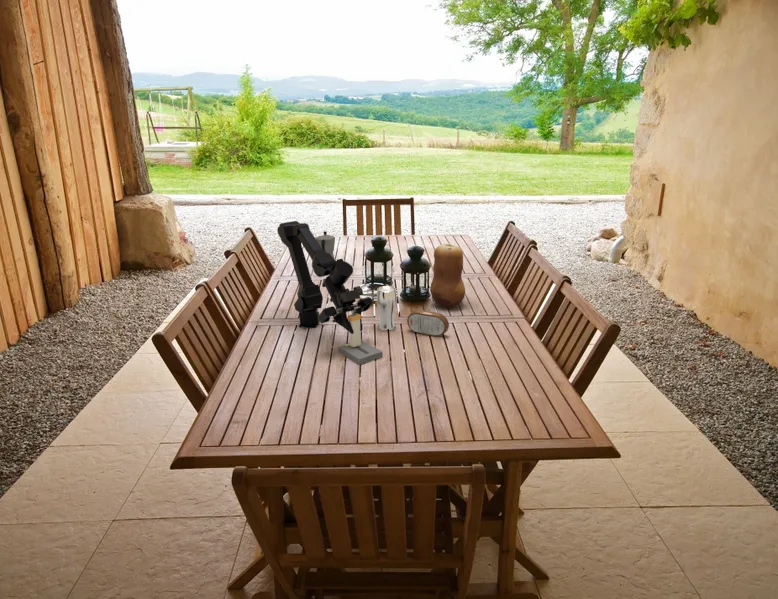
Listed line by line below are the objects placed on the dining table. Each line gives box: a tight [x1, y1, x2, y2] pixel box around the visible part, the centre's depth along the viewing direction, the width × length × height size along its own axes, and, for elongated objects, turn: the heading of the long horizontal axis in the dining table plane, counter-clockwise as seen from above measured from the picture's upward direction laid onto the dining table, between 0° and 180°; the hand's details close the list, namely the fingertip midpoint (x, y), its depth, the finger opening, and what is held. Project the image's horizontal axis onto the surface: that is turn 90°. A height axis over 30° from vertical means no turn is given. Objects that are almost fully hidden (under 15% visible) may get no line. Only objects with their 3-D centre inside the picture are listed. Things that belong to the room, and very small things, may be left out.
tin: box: [406, 309, 450, 337], centre depth 204 cm, size 15×3×8 cm, turn 65°
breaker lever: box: [347, 313, 362, 347], centre depth 190 cm, size 2×4×11 cm, turn 128°
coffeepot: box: [315, 231, 336, 260], centre depth 279 cm, size 15×9×18 cm, turn 178°
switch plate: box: [338, 339, 383, 365], centre depth 190 cm, size 12×9×2 cm
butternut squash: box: [429, 243, 466, 309], centre depth 228 cm, size 14×13×25 cm
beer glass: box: [376, 285, 397, 329], centre depth 209 cm, size 7×7×15 cm
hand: (357, 332), depth 189 cm, fingers closed on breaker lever, 3 cm apart
